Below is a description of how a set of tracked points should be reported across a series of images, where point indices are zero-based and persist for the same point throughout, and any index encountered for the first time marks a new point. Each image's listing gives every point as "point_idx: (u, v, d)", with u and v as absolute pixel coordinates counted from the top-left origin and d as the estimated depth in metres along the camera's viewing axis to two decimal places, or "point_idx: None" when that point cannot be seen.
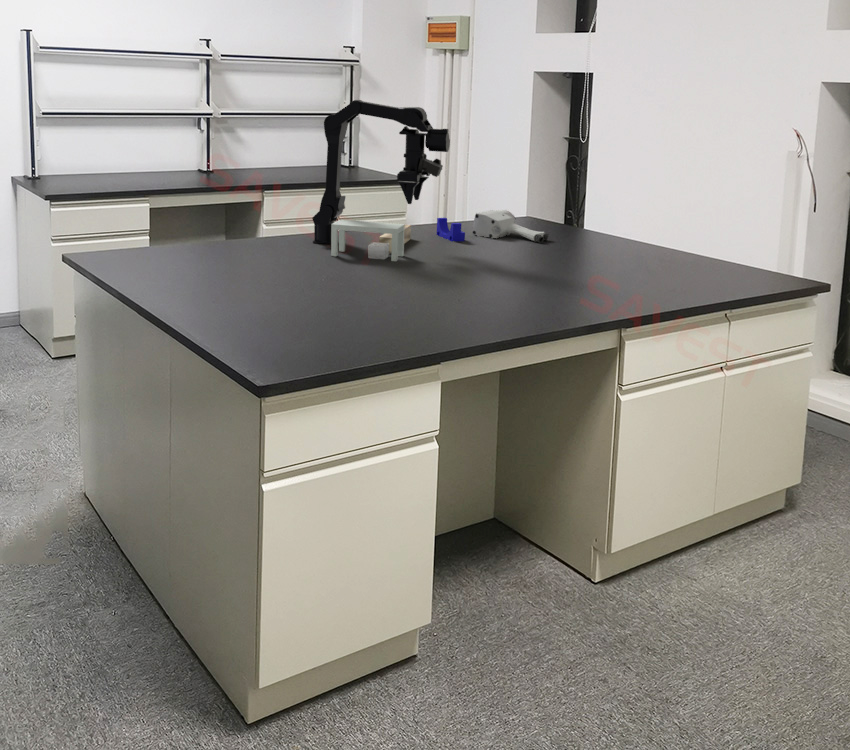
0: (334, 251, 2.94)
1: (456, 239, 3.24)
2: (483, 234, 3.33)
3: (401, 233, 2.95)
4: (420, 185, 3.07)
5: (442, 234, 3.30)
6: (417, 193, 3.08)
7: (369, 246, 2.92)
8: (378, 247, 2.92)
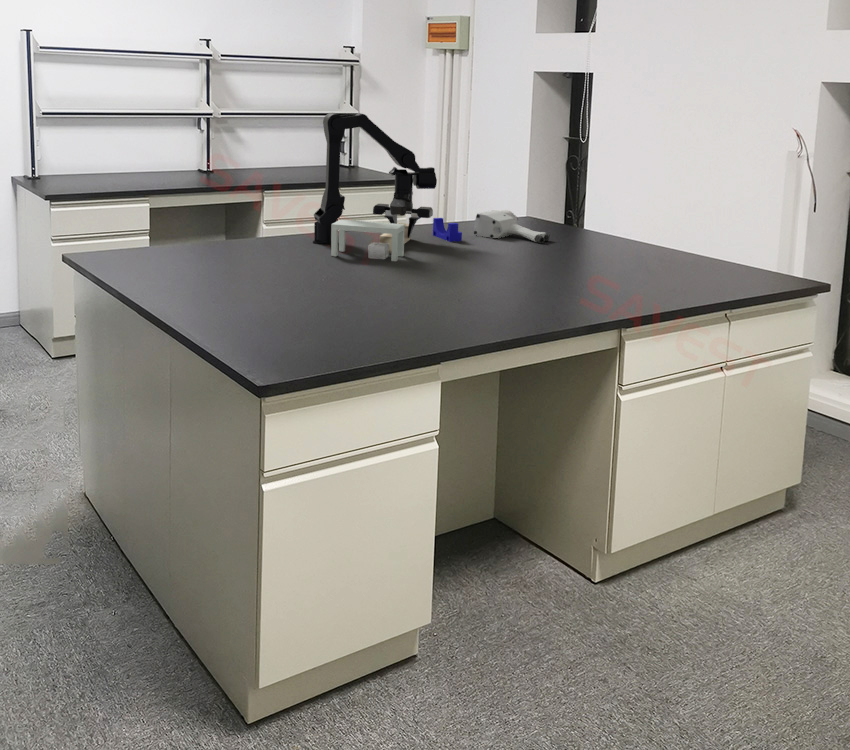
0: (334, 251, 2.94)
1: (453, 239, 3.24)
2: (484, 234, 3.33)
3: (401, 233, 2.95)
4: (409, 224, 3.19)
5: (438, 234, 3.29)
6: None
7: (369, 246, 2.92)
8: (378, 247, 2.92)
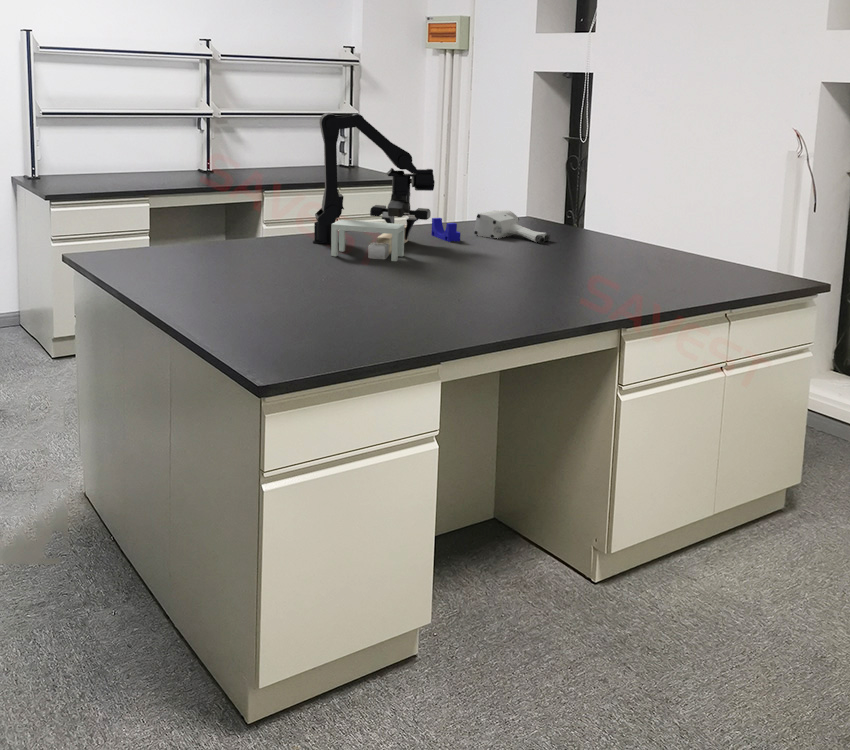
0: (334, 251, 2.94)
1: (452, 239, 3.24)
2: (485, 234, 3.33)
3: (401, 233, 2.95)
4: (406, 226, 3.16)
5: (437, 234, 3.29)
6: None
7: (369, 246, 2.92)
8: (378, 247, 2.92)
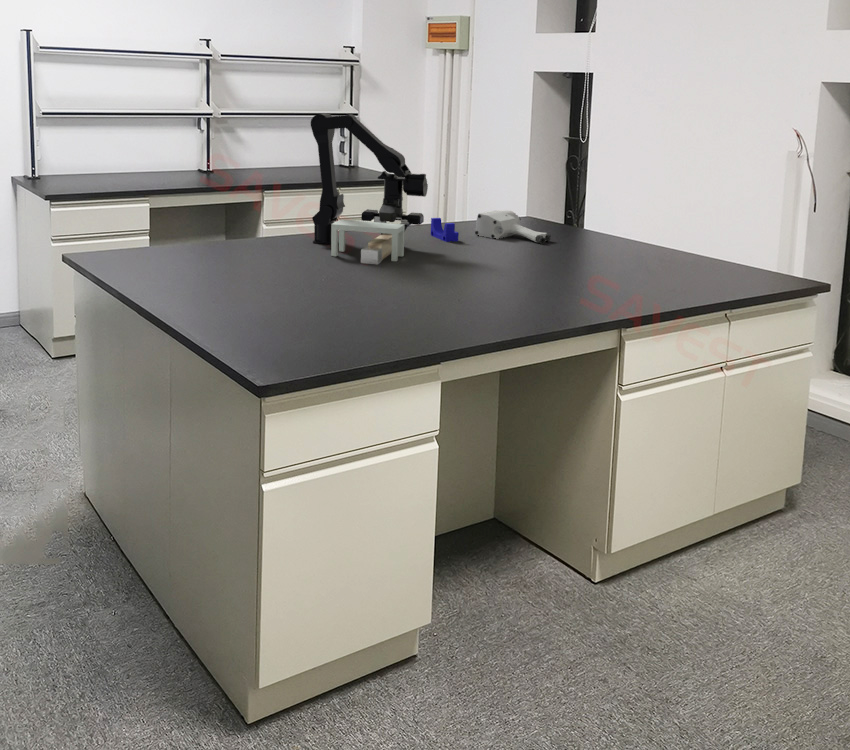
0: (334, 251, 2.94)
1: (450, 239, 3.23)
2: (485, 234, 3.33)
3: (401, 233, 2.95)
4: None
5: (436, 234, 3.29)
6: None
7: (362, 250, 2.85)
8: (371, 251, 2.85)
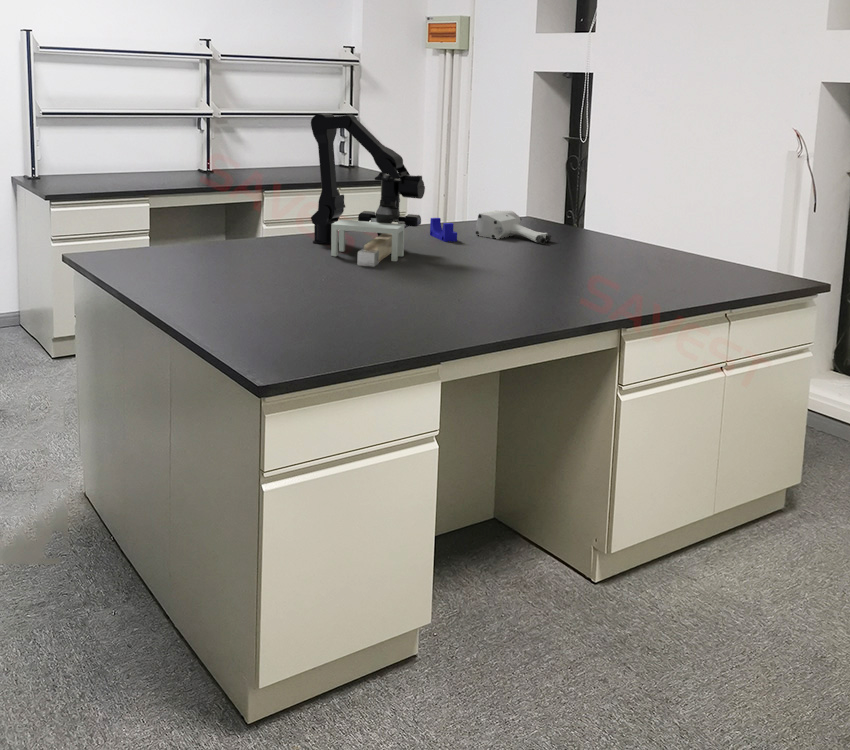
0: (334, 251, 2.94)
1: (448, 239, 3.23)
2: (486, 234, 3.33)
3: (401, 233, 2.95)
4: None
5: (435, 234, 3.29)
6: None
7: (358, 253, 2.82)
8: (368, 254, 2.82)
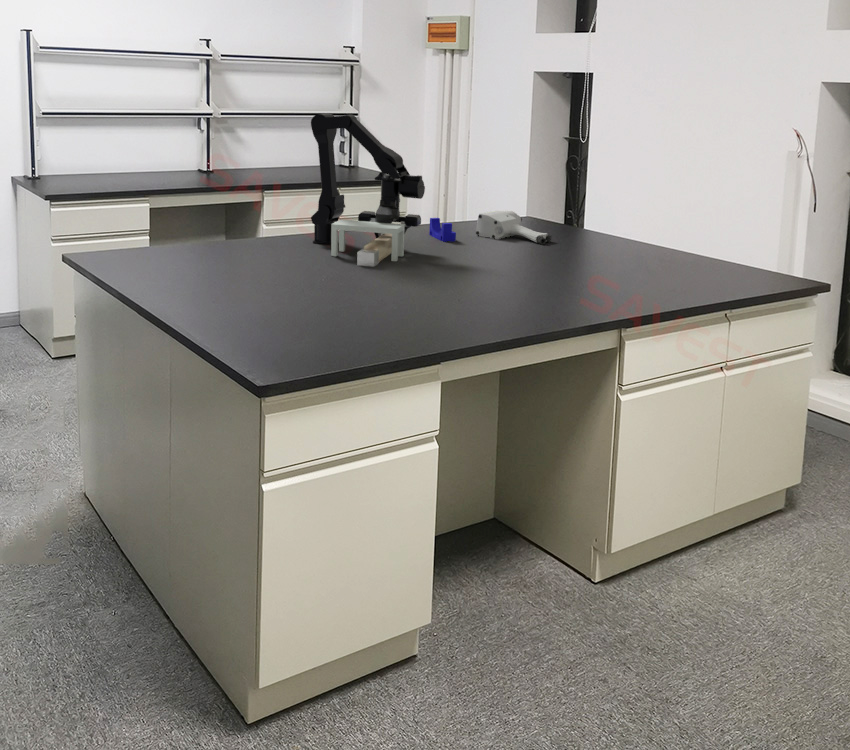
0: (334, 251, 2.94)
1: (447, 239, 3.23)
2: (486, 235, 3.32)
3: (401, 233, 2.95)
4: None
5: (434, 234, 3.29)
6: None
7: (358, 253, 2.82)
8: (367, 254, 2.82)
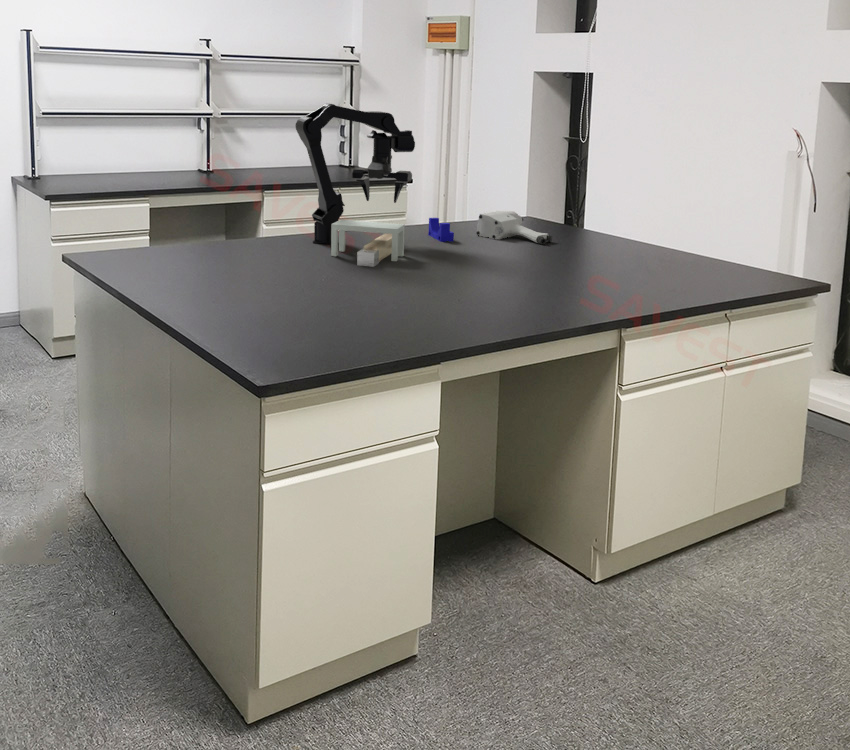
0: (334, 251, 2.94)
1: (444, 239, 3.23)
2: (486, 235, 3.32)
3: (401, 233, 2.95)
4: None
5: (433, 234, 3.29)
6: None
7: (358, 253, 2.82)
8: (367, 254, 2.82)
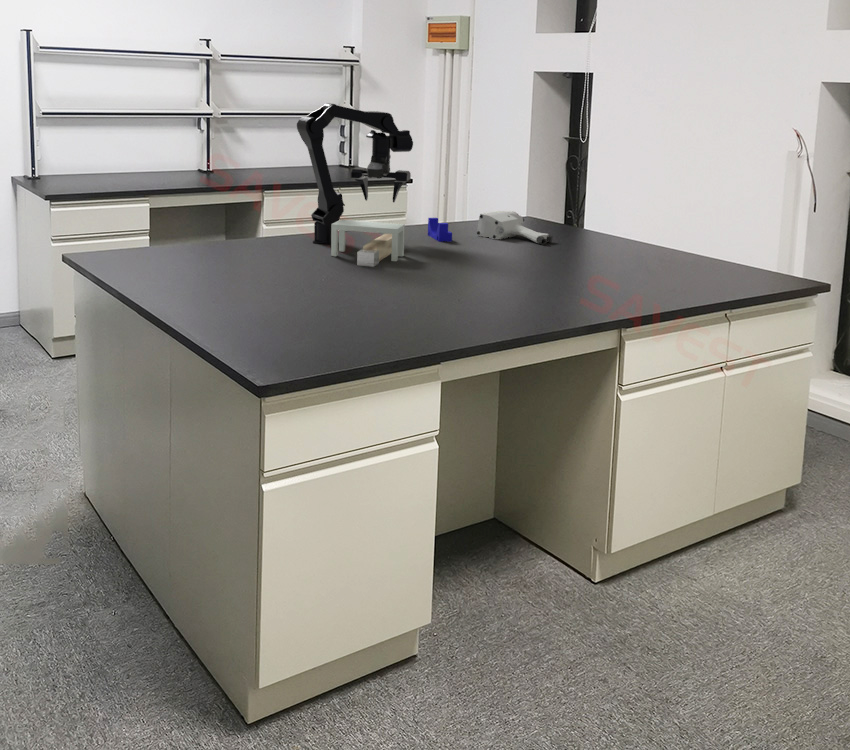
0: (334, 251, 2.94)
1: (443, 239, 3.23)
2: (487, 235, 3.32)
3: (401, 233, 2.95)
4: None
5: (431, 234, 3.29)
6: None
7: (358, 253, 2.82)
8: (367, 254, 2.82)
